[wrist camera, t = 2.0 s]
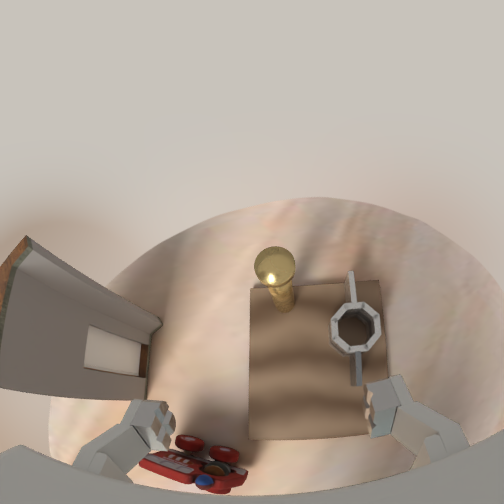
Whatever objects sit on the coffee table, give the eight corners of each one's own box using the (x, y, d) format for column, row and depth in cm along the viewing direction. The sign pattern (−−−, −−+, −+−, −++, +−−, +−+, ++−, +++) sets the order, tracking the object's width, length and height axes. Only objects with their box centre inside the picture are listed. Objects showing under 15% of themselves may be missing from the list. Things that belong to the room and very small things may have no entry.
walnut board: (386, 429, 31) (388, 430, 30) (250, 437, 34) (248, 439, 33) (376, 282, 41) (378, 279, 40) (251, 290, 44) (250, 288, 43)
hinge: (374, 383, 34) (384, 382, 29) (330, 387, 35) (333, 388, 30) (366, 282, 40) (373, 269, 36) (325, 285, 41) (327, 272, 37)
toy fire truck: (245, 491, 31) (226, 519, 21) (166, 466, 34) (131, 482, 24) (255, 452, 33) (239, 472, 24) (174, 429, 36) (139, 437, 27)
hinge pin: (299, 316, 40) (296, 283, 27) (271, 317, 40) (254, 285, 28) (298, 289, 42) (293, 245, 29) (270, 290, 42) (254, 247, 30)
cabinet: (158, 317, 45) (26, 235, 20) (191, 364, 41) (47, 321, 16) (80, 385, 41) (-54, 353, 17) (104, 430, 37) (-39, 428, 12)
